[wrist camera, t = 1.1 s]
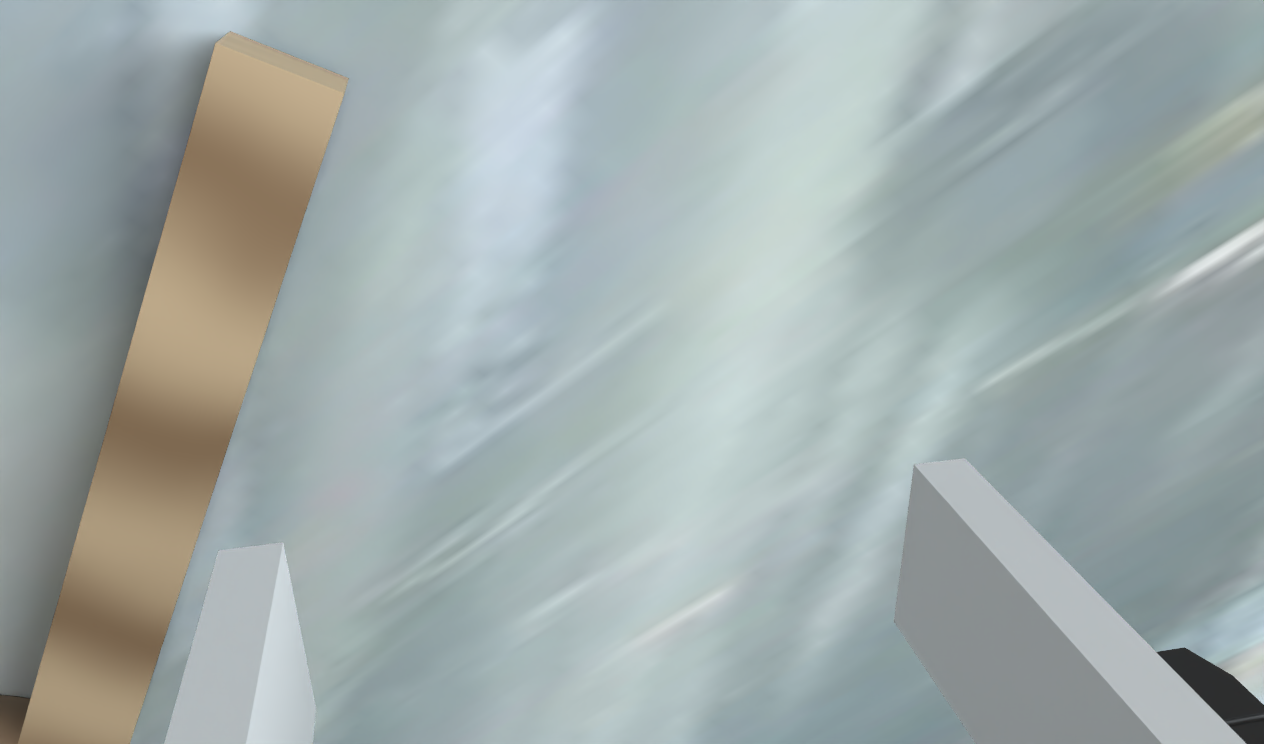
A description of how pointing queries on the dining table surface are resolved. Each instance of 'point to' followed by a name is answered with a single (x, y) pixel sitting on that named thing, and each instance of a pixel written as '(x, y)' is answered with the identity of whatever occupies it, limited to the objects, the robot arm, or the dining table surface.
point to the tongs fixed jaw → (12, 718)
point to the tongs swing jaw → (183, 383)
